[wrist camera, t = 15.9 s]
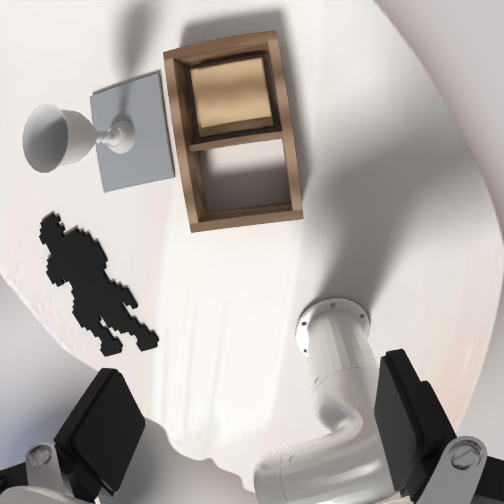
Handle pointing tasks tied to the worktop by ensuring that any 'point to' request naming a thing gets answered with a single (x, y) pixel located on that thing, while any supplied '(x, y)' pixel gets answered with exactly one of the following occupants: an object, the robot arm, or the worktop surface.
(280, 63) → the walnut crate
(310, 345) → the robot arm
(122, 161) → the slate mat
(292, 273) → the worktop surface
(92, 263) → the black silhouette cutout
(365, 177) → the worktop surface
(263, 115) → the oak offcut top
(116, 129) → the chalice
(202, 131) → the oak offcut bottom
